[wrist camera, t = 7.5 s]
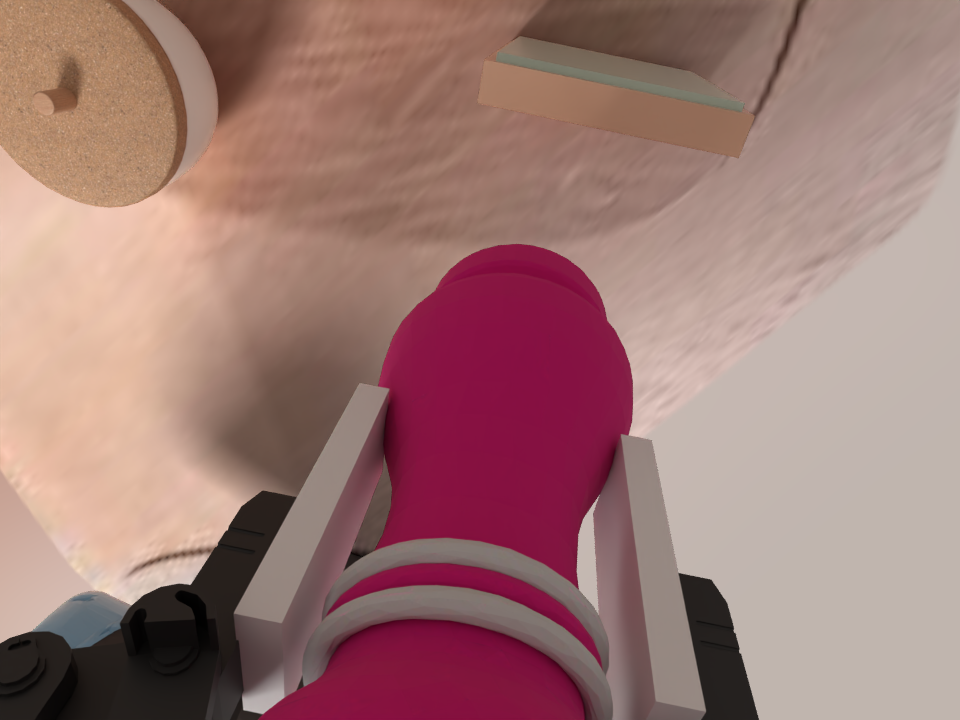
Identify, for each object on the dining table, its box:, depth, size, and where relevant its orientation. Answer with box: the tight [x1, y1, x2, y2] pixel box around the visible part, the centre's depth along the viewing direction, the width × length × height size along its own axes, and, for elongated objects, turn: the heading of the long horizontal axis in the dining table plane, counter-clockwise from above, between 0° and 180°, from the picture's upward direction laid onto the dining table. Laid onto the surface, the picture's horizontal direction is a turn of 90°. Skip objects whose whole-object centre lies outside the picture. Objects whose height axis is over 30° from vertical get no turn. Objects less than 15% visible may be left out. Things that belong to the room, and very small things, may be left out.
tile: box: [477, 36, 755, 158], centre depth 27 cm, size 2×10×12 cm, turn 80°
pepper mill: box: [258, 244, 633, 720], centre depth 12 cm, size 7×7×20 cm
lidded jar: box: [0, 0, 218, 207], centre depth 31 cm, size 11×11×9 cm
